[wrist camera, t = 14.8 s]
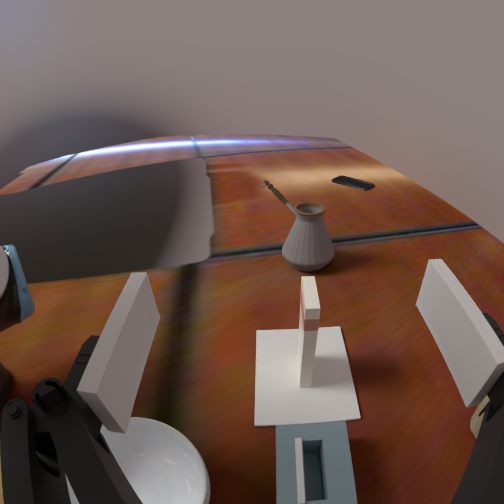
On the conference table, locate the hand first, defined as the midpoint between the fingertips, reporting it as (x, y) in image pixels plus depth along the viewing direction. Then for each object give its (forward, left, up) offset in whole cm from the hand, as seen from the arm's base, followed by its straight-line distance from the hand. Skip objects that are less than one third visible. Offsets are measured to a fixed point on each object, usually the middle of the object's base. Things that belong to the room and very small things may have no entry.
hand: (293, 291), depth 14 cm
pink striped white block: (-14, +12, -29) cm, 34 cm away
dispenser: (+1, +3, -29) cm, 30 cm away
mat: (-14, +12, -29) cm, 35 cm away
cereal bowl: (-6, -15, -30) cm, 34 cm away
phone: (-71, +77, -30) cm, 109 cm away
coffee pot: (-43, +30, -30) cm, 60 cm away
